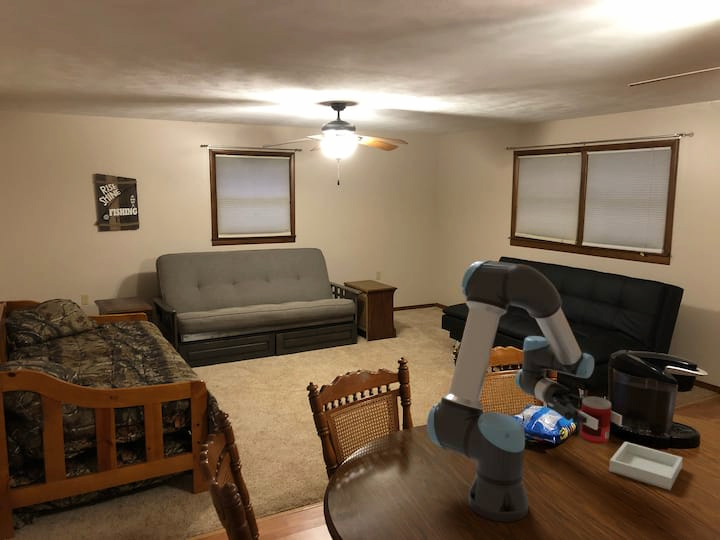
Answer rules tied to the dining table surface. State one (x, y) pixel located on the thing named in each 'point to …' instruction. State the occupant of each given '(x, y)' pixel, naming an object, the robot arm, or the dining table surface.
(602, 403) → the canned food
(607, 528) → the dining table surface
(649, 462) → the tray
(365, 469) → the dining table surface
